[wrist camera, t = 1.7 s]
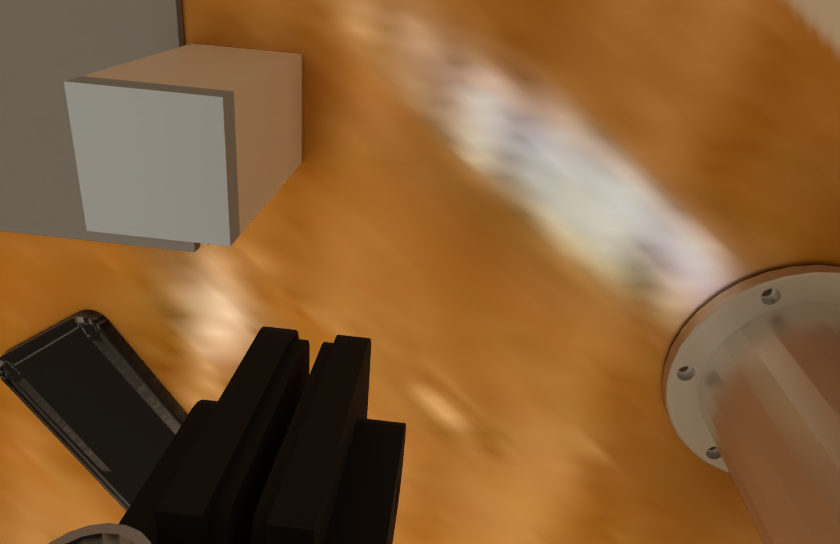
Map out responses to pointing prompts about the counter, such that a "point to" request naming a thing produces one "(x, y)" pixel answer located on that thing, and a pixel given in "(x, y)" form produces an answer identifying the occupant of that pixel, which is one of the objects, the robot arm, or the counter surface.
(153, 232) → the block
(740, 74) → the counter surface
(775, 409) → the robot arm
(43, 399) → the phone
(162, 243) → the mat
